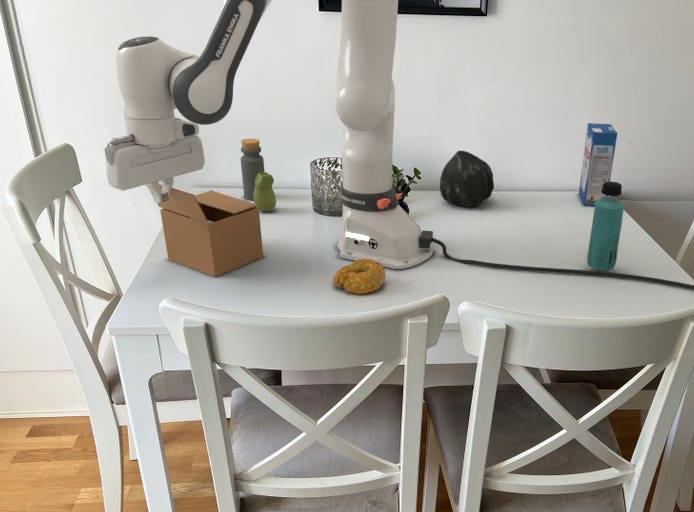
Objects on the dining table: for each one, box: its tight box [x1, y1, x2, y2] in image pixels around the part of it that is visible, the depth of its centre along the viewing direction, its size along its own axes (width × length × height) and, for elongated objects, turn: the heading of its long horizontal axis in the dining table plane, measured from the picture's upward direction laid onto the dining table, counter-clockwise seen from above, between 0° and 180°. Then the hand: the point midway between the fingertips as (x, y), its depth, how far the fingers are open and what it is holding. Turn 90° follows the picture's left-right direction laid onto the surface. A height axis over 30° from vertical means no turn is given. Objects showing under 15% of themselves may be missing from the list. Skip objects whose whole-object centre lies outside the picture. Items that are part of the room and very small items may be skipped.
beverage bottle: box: [586, 181, 625, 271], centre depth 162 cm, size 6×7×20 cm
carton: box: [159, 190, 264, 278], centre depth 161 cm, size 15×14×12 cm
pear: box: [253, 171, 277, 213], centre depth 189 cm, size 6×5×10 cm
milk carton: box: [578, 122, 618, 208], centre depth 204 cm, size 10×6×20 cm, turn 179°
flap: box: [149, 183, 208, 223], centre depth 151 cm, size 15×7×1 cm
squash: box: [439, 150, 495, 208], centre depth 200 cm, size 14×15×15 cm
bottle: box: [240, 138, 266, 201], centre depth 196 cm, size 6×6×15 cm
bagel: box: [332, 259, 387, 295], centre depth 154 cm, size 10×11×5 cm
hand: (162, 201), depth 148 cm, fingers closed
